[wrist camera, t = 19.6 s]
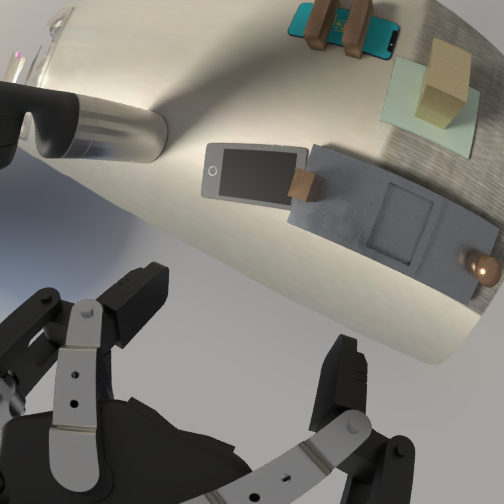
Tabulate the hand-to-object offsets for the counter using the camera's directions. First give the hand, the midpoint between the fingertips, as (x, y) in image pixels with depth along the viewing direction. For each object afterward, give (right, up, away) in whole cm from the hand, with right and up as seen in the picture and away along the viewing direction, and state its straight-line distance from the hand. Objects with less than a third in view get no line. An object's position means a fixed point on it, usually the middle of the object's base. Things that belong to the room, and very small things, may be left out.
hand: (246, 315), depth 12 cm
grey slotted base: (+17, +6, +18) cm, 26 cm away
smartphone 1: (0, +13, +25) cm, 29 cm away
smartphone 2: (+13, +33, +15) cm, 39 cm away
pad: (+22, +21, +13) cm, 33 cm away
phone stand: (+13, +33, +15) cm, 39 cm away
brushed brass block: (+22, +21, +12) cm, 33 cm away
